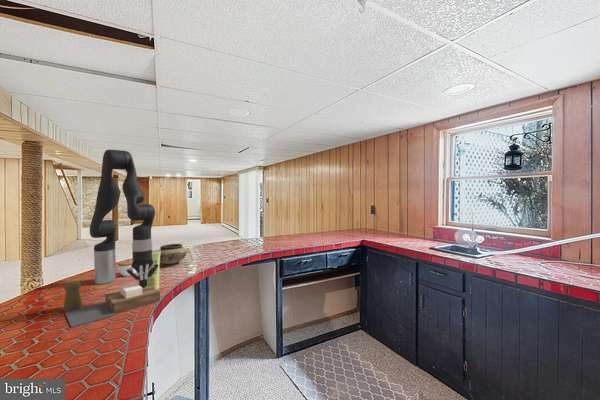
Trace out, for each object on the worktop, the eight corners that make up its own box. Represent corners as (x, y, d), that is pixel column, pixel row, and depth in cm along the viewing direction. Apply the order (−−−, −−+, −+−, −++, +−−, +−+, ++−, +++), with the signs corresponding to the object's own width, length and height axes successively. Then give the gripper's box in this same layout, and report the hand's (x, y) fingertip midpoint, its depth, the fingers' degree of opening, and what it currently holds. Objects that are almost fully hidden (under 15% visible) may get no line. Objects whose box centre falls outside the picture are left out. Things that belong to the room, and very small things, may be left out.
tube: (150, 292, 126) (149, 252, 126) (144, 290, 129) (143, 250, 128) (161, 288, 131) (160, 249, 131) (155, 286, 134) (154, 248, 133)
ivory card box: (120, 293, 115) (120, 286, 115) (135, 289, 119) (135, 282, 119) (126, 298, 109) (126, 291, 109) (142, 294, 113) (142, 287, 113)
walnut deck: (105, 304, 113) (105, 294, 113) (148, 292, 126) (148, 284, 125) (114, 314, 104) (113, 304, 103) (160, 300, 116) (159, 292, 116)
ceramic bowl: (194, 265, 182) (196, 244, 185) (182, 266, 165) (185, 242, 168) (159, 265, 182) (161, 244, 186) (144, 266, 165) (147, 242, 168)
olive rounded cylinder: (67, 306, 111) (66, 280, 111) (84, 303, 113) (84, 278, 113) (60, 312, 105) (59, 285, 105) (78, 309, 107) (78, 283, 107)
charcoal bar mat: (64, 313, 104) (64, 312, 104) (104, 303, 114) (104, 302, 114) (71, 327, 93) (71, 326, 93) (115, 315, 103) (115, 314, 103)
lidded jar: (113, 275, 151) (113, 259, 151) (132, 271, 161) (132, 255, 161) (124, 278, 146) (124, 262, 146) (143, 273, 156) (143, 257, 156)
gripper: (155, 245, 124) (155, 281, 125) (122, 250, 114) (123, 289, 115) (161, 247, 119) (162, 285, 120) (127, 252, 109) (128, 293, 110)
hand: (143, 287), depth 117 cm, fingers closed
